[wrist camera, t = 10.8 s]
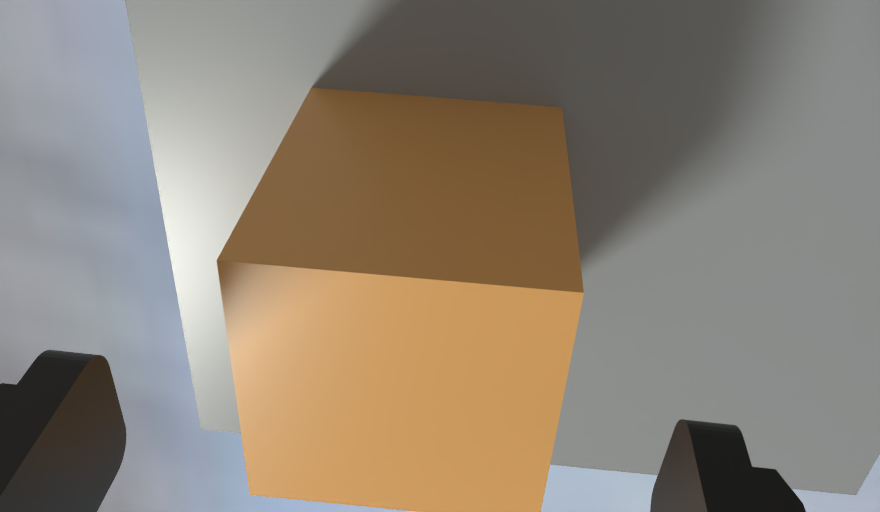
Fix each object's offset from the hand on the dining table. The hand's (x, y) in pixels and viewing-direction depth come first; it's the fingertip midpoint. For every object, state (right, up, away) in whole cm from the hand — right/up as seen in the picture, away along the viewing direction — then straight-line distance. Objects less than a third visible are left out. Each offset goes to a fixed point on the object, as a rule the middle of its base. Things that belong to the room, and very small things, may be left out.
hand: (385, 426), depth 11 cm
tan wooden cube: (+1, +3, +6) cm, 7 cm away
